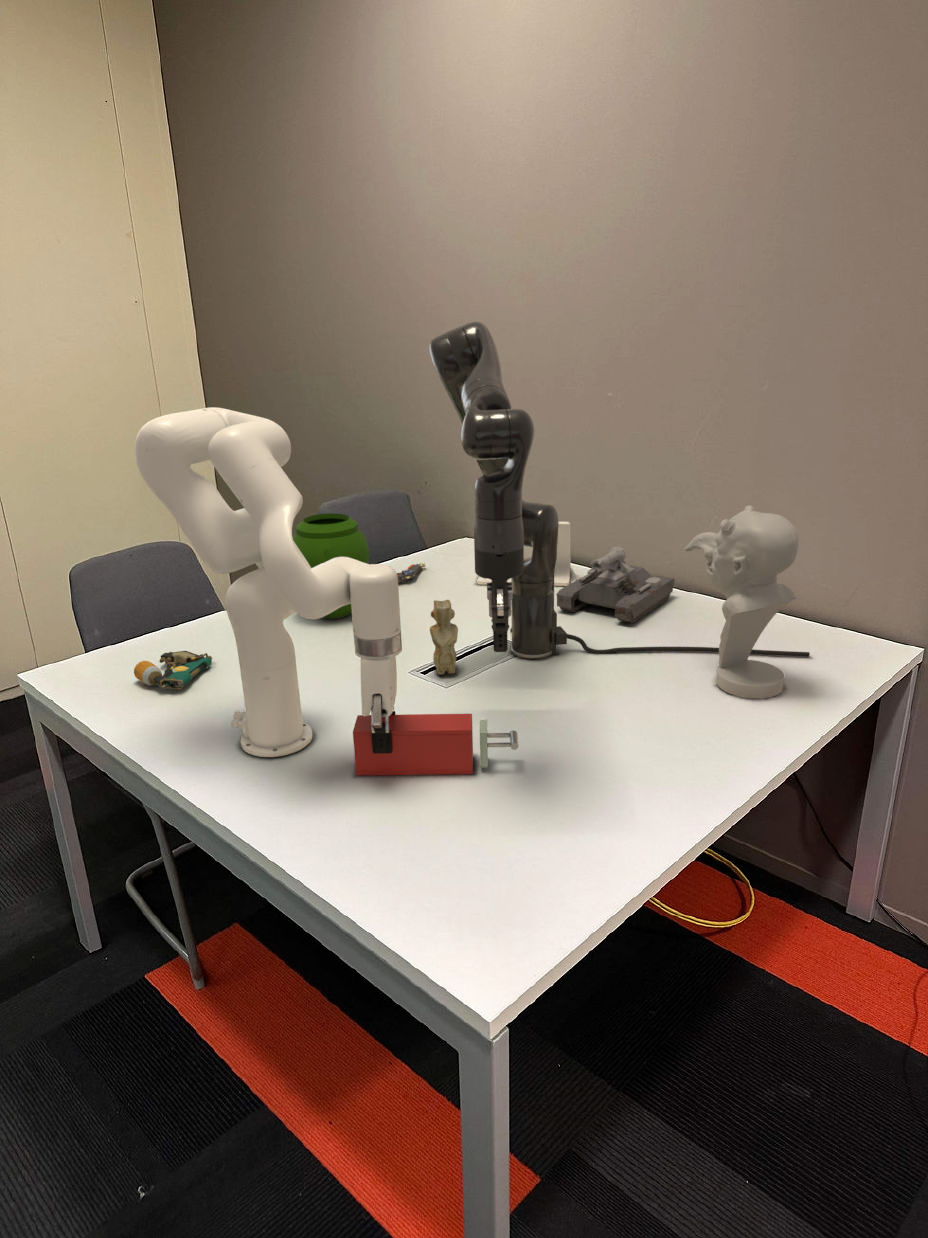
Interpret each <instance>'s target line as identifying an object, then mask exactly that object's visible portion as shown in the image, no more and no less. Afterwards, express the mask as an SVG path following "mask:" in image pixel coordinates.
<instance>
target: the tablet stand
mask: <svg viewBox="0 0 928 1238" xmlns="http://www.w3.org/2000/svg"><path fill="white" fill-rule="evenodd" d="M532 552H533V547H528V546H524V559H526V558H530V557H532ZM571 560H572V558H571V522H569V521H559V529H558V543H557V560H556V566H555V571H554V587H556V586H557V587H566V586H567V585H569V584H570V580H571V579H570V578H571V565H572V564H571ZM476 581H477V582H476V584H478V585H484V586H485V585H486V586H487V583H492V580H491V579H488V578H487V579H485V578H482V577H480V576H478V577H477V580H476ZM507 582H511V578H510V579H508V580H507Z"/></svg>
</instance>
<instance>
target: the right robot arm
mask: <svg viewBox="0 0 928 1238" xmlns="http://www.w3.org/2000/svg"><path fill="white" fill-rule="evenodd" d="M428 348H429V355H430V358H431V362H432V364H433V367H434V369H435V371H436V374H437V375H438V377H439V380H440V381H441V384H442V385H443V387H444V389H445V391H446V393H447V395H448V397H449V399H450V402H451V403H452V406H453V408H454V409H455V411H456V413H457V415H458V418H459V419H460V422H461V429H460V430H461V431H460V441H461V446H462V449H463V451H464V452H465V454H466V455H467V456H468V457H470V458H472V459H474V460H476V463H477V465H478V467H479V469H480V472H481V473H482V475H481V476H479V477H478V478H477V479H476V480H475V483H474V525H473V543H474V544H473V545H474V546H473V547H474V550H473V551H474V552H473V553H474V572H475V574H476V575H477V576H478V577H479V576H480V577H482V578H485V579H487V578H488V579H491V580H492V583H487V585H486V599H487V600H488V613H489V614H488V616H489V617H490V618H491V619H490V620H491V623H492V624H491V629H492V639H493V640H492V641H493V642H492V643H493V652H495V653H506V652H508V650H509V649H508V648H509V647H508V646H509V645H508V631H509V633H510V634H509V635H511V643H510V644H511V647H510V651H511V653H512V655H513V656H515V657H518V658H521V659H525V660H526V659H527V660H540V659H545V658H548V657H550V656H552V655H557V654H558V653H557V650H558V649H557V648H558V647H557V646H561V645H562V646H563V645H567V644H568V640H572V641H575V642H577V643H579V644H580V646H581V647H582V649H583V650H584V651H585V652H587V653H589V654H593V655H594V654H595V655H607V654H616V653H639V652H641V653H643V652H698V653H699V652H702V653H703V652H704V653H719V647H712V646H711V647H710V646H707V647H706V646H632V647H631V646H629V647H626V646H624V647H614V648H606V649H596V648H595V649H594V648H591V647H589V646H588V645H587V642H585V640H584V639H582V638H581V637H579V636H576V635H573V634H569V633H567V632H566V631H565V629H564V628H563V627H562V626H561V625H558V613H557V612H556V611H555V586H554V571H555V566H556V560H557V543H558V529H559V522H560V520H559V515H558V511H557V509H556V507H554V506H553V505H551V504H548V503H541V502H532V501H526V500H524V499H523V483H524V477H525V472H526V467H527V463H528V460H529V457H530V454H531V450H532V448H533V447H532V446H533V442H534V438H535V426H534V421H533V419H532V417H531V416H530V414H529V412H527V411H526V410H524V409H522V408H512V404H511V401H510V398H509V396H508V393H507V391H506V389H505V387H504V383H503V378H502V367H501V361H500V355H499V352H498V348H497V346H496V342H495V340H494V338H493V336H492V334H491V332H490V330H489V328H488V327H487V326H486V324H485V323H483V321H478V320H477V321H476V320H474V321H471V322H468V323H465V324H463V325H460V326H458V327H456V328H454V329H453V328H452V329H451V330H449V331H446V332H444V333H442V334H440V335H437V336H436V337H434V338H432V339H431V341H430V342H429V347H428ZM524 546H528V547H533V552H532V557H530V558H526V559H524ZM510 578H511V582H507V580H508V579H510ZM509 618H511V621H510V622H511V628H510V624H509ZM509 629H510V630H509ZM750 655H761V656H779V657H783V656H784V657H806V658H810V655H811V654H810V651H793V650H791V651H789V650H768V649H754V648H753V649H752V651H751V653H750Z"/></svg>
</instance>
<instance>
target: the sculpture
mask: <svg viewBox="0 0 928 1238" xmlns="http://www.w3.org/2000/svg"><path fill="white" fill-rule="evenodd" d="M455 615H456V611H455V609H453V608H452V602H451V601H450V599H445V600H433V610H431V612H430V617H431V618H432V619H433V620H434V621H435V622H436V623H435V624H433V625H431V626H429V633H430V636H431V640H432V641H431V642H432V643H433V645H434V648H435V649H434V652H433V656H432V657H433V659H432V660H433V665H434V667H435V668H436V671H437V674H438V675H445V674H446V672H447V673H448V674H455V673H456V666H457V665H456V663H457V652H456V649H455V644H456V643H457V642H458V637H459V635H458V634H459V627H458V626H457V624H455V623H453V622H451V621H452V620H453V619H454V618H455Z"/></svg>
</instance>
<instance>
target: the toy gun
mask: <svg viewBox="0 0 928 1238" xmlns="http://www.w3.org/2000/svg"><path fill="white" fill-rule="evenodd" d="M425 567H426V563H424V562H423V563H416V564H414V563H413V564H410V565H409V566H408V567H407V569H405V570H401V572H396V573H397V576H398V583H399V582H402V581H405V580H409V579H413V577H415V576H417V575H418V572H420V570H423V568H425Z"/></svg>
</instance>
